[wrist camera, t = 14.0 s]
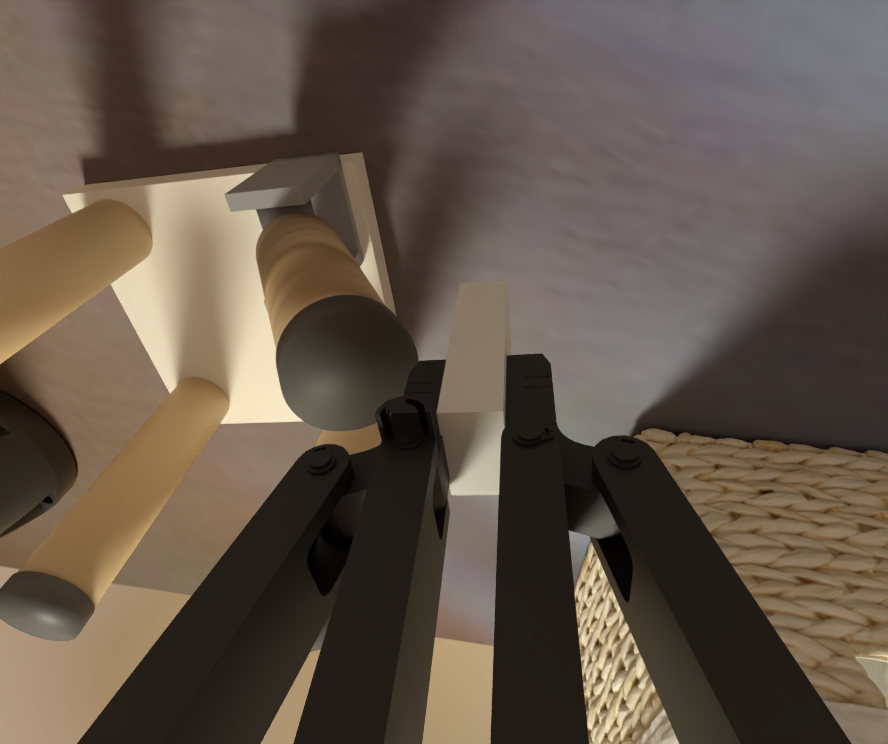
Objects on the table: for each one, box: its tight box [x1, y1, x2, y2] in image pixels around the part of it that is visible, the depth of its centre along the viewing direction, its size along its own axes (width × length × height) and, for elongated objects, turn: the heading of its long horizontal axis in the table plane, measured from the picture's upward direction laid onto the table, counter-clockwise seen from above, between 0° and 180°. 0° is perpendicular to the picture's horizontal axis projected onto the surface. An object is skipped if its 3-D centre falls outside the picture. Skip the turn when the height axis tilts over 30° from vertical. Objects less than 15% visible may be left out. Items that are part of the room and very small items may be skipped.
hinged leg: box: [256, 199, 418, 431], centre depth 22 cm, size 14×4×4 cm
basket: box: [574, 428, 888, 744], centre depth 37 cm, size 27×27×22 cm
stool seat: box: [0, 151, 397, 652], centre depth 28 cm, size 18×19×19 cm
